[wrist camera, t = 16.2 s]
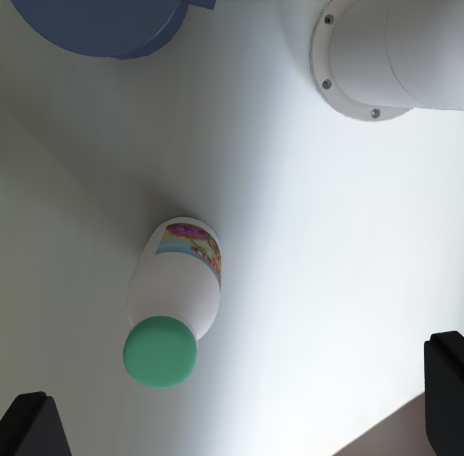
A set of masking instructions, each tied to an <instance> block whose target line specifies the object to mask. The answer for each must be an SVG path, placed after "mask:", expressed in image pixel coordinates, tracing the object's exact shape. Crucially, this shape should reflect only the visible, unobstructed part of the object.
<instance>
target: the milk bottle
mask: <svg viewBox="0 0 464 456" xmlns="http://www.w3.org/2000/svg"><path fill="white" fill-rule="evenodd" d="M220 291H221V248H220V243H219V240H218V238H217V236H216V234H215V233H214V231H213V230H212V229H211V228H210V227H209V226H208V225H206V224H205V223H203V222H202V221H200V220H197V219H194V218H190V217H177V218H173V219H170V220H167V221H165V222H164V223H162V224H161V225H159V226H158V227H157V228H156V229H155V231H154V232H153V234H152V235H151V237H150V239H149V241H148V242H147V244H146V246H145V248H144V250H143V252H142V254H141V257H140V259H139V261H138V263H137V265H136V267H135V269H134V271H133V274H132V276H131V279H130V282H129V284H128V289H127V294H126V310H127V314H128V318H129V321H130V323H131V325H132V328H131V330H130V332H129V335H128V338H127V340H126V342H125V346H124V350H123V360H124V365H125V368H126V370H127V371H128V373H129V374H130V376H131V377H132V378H133V379H134V380H136V381H137V382H139V383H140V384H142V385H144V386H147V387H151V388H157V389H164V388H170V387H173V386H176V385H178V384H180V383H181V382H183V381H184V380H185V379H186V378H187V377H188V376H189V375H190V373H191V371H192V370H193V368H194V365H195V361H196V354H197V340H199V339H200V338H201V337H202V336H203V335H204V334H205V333H206V332H207V331H208V329H209V328H210V326H211V325H212V323H213V321H214V319H215V317H216V314H217V311H218V307H219V302H220Z"/></svg>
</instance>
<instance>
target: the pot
mask: <svg viewBox="0 0 464 456" xmlns="http://www.w3.org/2000/svg"><path fill="white" fill-rule="evenodd" d="M215 3H216V0H181V2H180V4H179V6H178V8H177V10H176V12H175V14H174V16H173V17H172V19H171V20H170V21H169V23H168V24H167V26H166V27H165V28H164V29H163V30H162V31H161V32H160V33H159V34H158V35H157V36H156V37H155V38H153V39H152V40H151V41H150V42H148V43H147V44H145V45H143V46H142V47H140V48H138V49H136V50H133V51H131V52H128V53H125V54H121V55H117V56H109V57H113V58H117V59H121V60H123V59H131V58H138V57H142V56H147V55H149V54H151V53H153V52H155V51H156V50H158V49H160V48H161V47H162V46H164V45H165V44H166V43H167V42H168V41H170V40H171V39H172V37H173V36H174V35H175V33H176V32H177V30H178V29H179V27H180V26H181V24H182V22H183V20H184V18H185V16H186V12H187V8H188V4H192V5H196V6H199V7H203V8H207V9H211V10H214V7H215Z"/></svg>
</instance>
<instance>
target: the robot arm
mask: <svg viewBox="0 0 464 456" xmlns="http://www.w3.org/2000/svg"><path fill="white" fill-rule="evenodd" d="M325 18H328V19H329V23H328V24H327V23H325ZM309 57H310V69H311V73H312V77H313V80H314V83H315V85H316V87H317V89H318V91H319V93H320V94H321V96H322V97H323V98H324V100H325V101H326V102H327V103H328V104H329V105H330V106H331V107H332V108H333V109H335V110H336V111H338V112H339V113H341V114H343V115H344V116H346V117H349V118H352V119H355V120H360V121H365V122H380V121H386V120H391V119H393V118H396V117H399V116H401V115H404V114H405V113H407V112H409V111H410V110H412V109H414V108H421V109H435V110H457V111H464V0H331V1H330V2H329V3H328V5H327V6H326V7H325V9H324V10H323V11H322V13H321V15H320V17H319V19H318V21H317V23H316V25H315V27H314V31H313V34H312V38H311V43H310V52H309ZM324 82H327V86H326V87H323V83H324ZM373 110H374V111H375V115H373V116H372V115H371V112H372V111H373ZM424 375H425V419H426V434H427V437H428V440H429V442H430V445H431V446H432V448H433V450H434V452H435V453H436V455H437V456H464V337H463V336H462V335H461V334H460V333H459V332H457V331H449V332H442V333H435V334H432V335H431V337H430V340H429V341H425V343H424ZM0 456H72V455H71V452H70V448H69V445H68V442H67V439H66V436H65V433H64V429H63V426H62V423H61V420H60V417H59V414H58V411H57V407H56V404H55V401H54V399H53V398H52V397H51V396H48V397H47V395H46V393H45V392H42V391H40V392H34V393H27V394H21V395H18V396H17V397H16V398H15V400H14V401H13V403H12V404H11V406H10V407H9V409H8V410H7V412H6V413H5V415H4V416H3V418H2V419H1V421H0Z"/></svg>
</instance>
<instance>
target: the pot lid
mask: <svg viewBox="0 0 464 456" xmlns="http://www.w3.org/2000/svg"><path fill="white" fill-rule="evenodd" d="M11 1H12V3H13V5H14V6H15V8H16V9H17V11H18V12H19V13H20V15H21V16H22V17H23V18H24V20H25V21H26V22H27V23H28V24H29V25H30V26H31V27H32V28H33V29H34V30H35V31H37V32H38V33H39V34H40V35H42V36H43V37H44V38H46V39H47V40H49V41H50V42H52V43H54V44H55V45H57V46H59V47H61V48H64V49H66V50H68V51H71V52H74V53H78V54H81V55H87V56H93V57H109V56H117V55H121V54H125V53H128V52H131V51H133V50H136V49H138V48H140V47H142V46H143V45H145V44H147V43H148V42H150V41H151V40H152V39H153V38H155V37H156V36H157V35H158V34H159V33H160V32H161V31H162V30H163V29H164V28H165V27H166V26H167V24H168V23H169V21H170V20H171V19H172V17H173V16H174V14H175V12H176V10H177V8H178V6H179V4H180V2H181V0H11Z"/></svg>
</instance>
